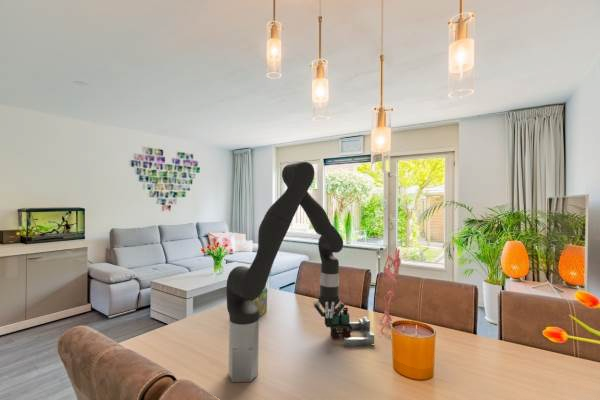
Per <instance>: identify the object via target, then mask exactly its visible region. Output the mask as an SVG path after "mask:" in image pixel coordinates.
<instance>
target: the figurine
mask: <svg viewBox="0 0 600 400" xmlns="http://www.w3.org/2000/svg"><path fill="white" fill-rule="evenodd" d="M400 252H401V251H400V248H397V247H395V249H394V258H393V257H391V256H390V255H389V254H387V258H386V260H385V264H384V266H383V272H382V273H383V275H382V280H383V281H384V280H385V276H386V277H387V278H389V279H390V280H391V281H392V282H391V290H389V291H387V294H386V295H384V296H383V297H384V305H385V310H383V312H384V314H383V316H382V318H381V319H380V320H379V322H381V323H382V322H383V320H384V318H385V322H384V323H383V326H382V328H381V329H380V330H381V331H382V332H383V330H384V329H385V326H386V324H388V326H389V328H390V329H391V324H392V322H393V321H392V317H391V315H390V314H389V312H390V311H389V310H390V309H389V307H390V306H389V304H390V301H391V299H392V298H393V297H394V295H395V294H394V291H393V288H394V284H397V279H396V278H399V274H400V273H399V272H400V271H399V270H400V269H399V267H400V266H401V264H402V262H401V258H400ZM388 261H390V262H391V263H390V264H389V266H388V267H387V265H388ZM392 266H393V272H392V270H391V269H390V268H391V267H392ZM386 297H389V300H388V303H387V300H386ZM385 316H386V317H385ZM390 321H392V322H390ZM381 331H380V332H381ZM379 338H381V336H379Z"/></svg>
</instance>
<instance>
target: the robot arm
mask: <svg viewBox="0 0 600 400" xmlns="http://www.w3.org/2000/svg"><path fill="white" fill-rule="evenodd" d="M281 178H282V181H283V183H284V184H285V186H286V190H285V191H284V192H283V194H281V195H280V196H279V198H278V199H277V200H275V201H274V202H273V203H272V204H271V206H270V207H269V208H268V209H267V212H265V214H264V217H263V219H262V220H261V223H260V224H259V226H258V232H257V233H258V235H257V236H258V237H257V243H258V244H257V251H256V254H255V257H254V258H253V261H252V263H251V265H250V267H248V266H243V265H240V266H239V265H238V266H235V267H234V268H232V269H231V271H230V272H229V274H228V276H227V280H226V308H227V312H228V315H229V320H228V321H229V322H228V323H229V327H228V377H229V379H230V380H231V381H230V382H231V383H243V382H245V383H247V382H253V380H254V379H255V378H256V377H257V376H258V375H259V353H260V352H259V350H260V349H259V348H260V347H259V346H260V345H259V344H260V337H259V336H260V317H259V309H258V307H257V306H256V305H255V304H254V302H253V300H255V299H257V298H258V297H259V296H260V295H261V293H262V292H263V290H264V288H266V285H267V283H268V279H269V276H270V274H271V271H272V268H273V265H274V262H275V259H276V257H277V255H278V252H279V251H280V247H281V245H282V243H283V241H284V239H285V237H286V234H287V233H288V231H289V229H290V227H291V224H292V221H293V219H294V218H295V215H296V213H297V211H298V209H299V206H300V207H301V208H302V210H303V211H304V213H305V215H306V216H307V218H308V221H309V222H310V224H311V226H312V228H313V230H314V231H315V233H316V234H318V235H319V239H318V244H317V247H318V253H319V257H320V260H321V264H320V265H321V267H320V268H321V271H320V279H319V297H318V300H317V301H315V302H313V307H314V308H315V309H316V311H317V312H318V314H319V315H320V316H321V317H324V325H325V327H326V328H330V326H332V318H333V317H334V316H335V317H336V316H337V315H338V314H339V315H340V312H342V311H343V308H345V304H344V303H343V302H342V301H341V300H340V298H339V295H340V293H339V291H340V289H339V288H340V284H339V283H340V276H339V270H340V269H339V268H340V265H339V264H340V263H339V259H338V258H337V257H335V256H334V254H333V253H339V252H341V251H342V250H343V247H344V240H343V237H342V236H341V234H340V232H339V231H338V230H337V229H336V227H334V225H333V224H332V222H331V221H330V219H329V215H328V214H327V212H326V210H325V209H324V208H323V206H322V205H321V204H320V203H319V202H318V201H317V200H316V199H315V198H314V197H313V196H312V195H311V194H310V193H309V191H308V190H309V189H310V188H311V186H312V184H313V182H314V180H315V179H314V178H315V168H314V166H313V164H312V163H311V162H309V161H306V160H305V161H298V162H292V163H288V164H286V165H285V166H284V167H283V169H282V170H281ZM321 307H322V308H323V310H322V309H321ZM334 308H336V309H335V311H334Z"/></svg>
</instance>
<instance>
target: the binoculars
mask: <svg viewBox="0 0 600 400" xmlns="http://www.w3.org/2000/svg"><path fill="white" fill-rule="evenodd" d="M336 308H337V307H335V308H334V311H335V309H336ZM348 311H349V309H348V307H344V308H343V309H342V311H340V313H339V314H338V315H337V316H336V317H335V316H334V317H333V318H332V326H330V327H329V329H330V333H331V334H330V336H331V338H332V339H337V340H338V339H339V338H340V336H341V335H342V338H343V339H344V338H352V337H351V333H352V331H353V329H352V326H351V325H350V322H351V321H350V313H349V312H348ZM339 325H340V327H341V328H342V329H340V331H338V330H337V329H336V328H339ZM347 328H351V329H347Z"/></svg>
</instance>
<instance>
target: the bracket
mask: <svg viewBox="0 0 600 400" xmlns="http://www.w3.org/2000/svg"><path fill="white" fill-rule="evenodd" d="M350 325H351V326H352V330H360V332H361V331H362V332H361V333H362V335H363V334H364V335H363V336H365V337H358V336H357V337H350V338H343V346H344V347H353V346H352V345H372V344H374V345H375V334H374V332H373V331H372V330H371V321H370V319H369V318H368V317H367V315H366V316H362V318H360V317H359V318H358V321H350ZM336 329H337V331H338V330H339V331H340V330H341V329H342V328H341V327H340V325H339V328H336ZM347 329H348V330H351V328H347Z"/></svg>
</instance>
